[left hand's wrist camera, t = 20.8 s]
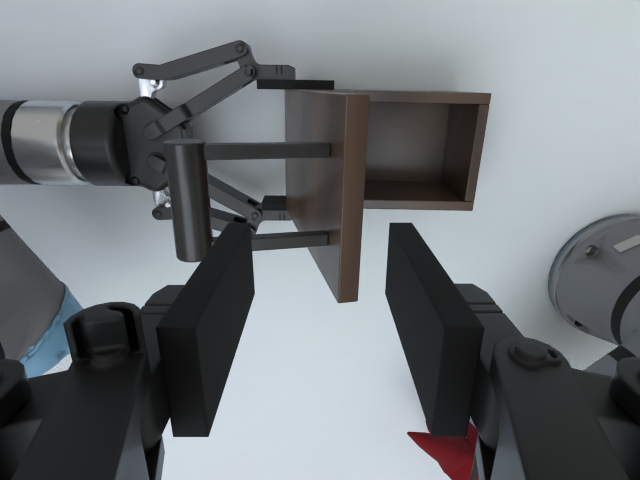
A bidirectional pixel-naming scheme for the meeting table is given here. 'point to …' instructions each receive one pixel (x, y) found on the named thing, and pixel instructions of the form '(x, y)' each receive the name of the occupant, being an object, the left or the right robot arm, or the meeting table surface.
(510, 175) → the meeting table surface
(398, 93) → the chest
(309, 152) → the lid
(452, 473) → the toy
